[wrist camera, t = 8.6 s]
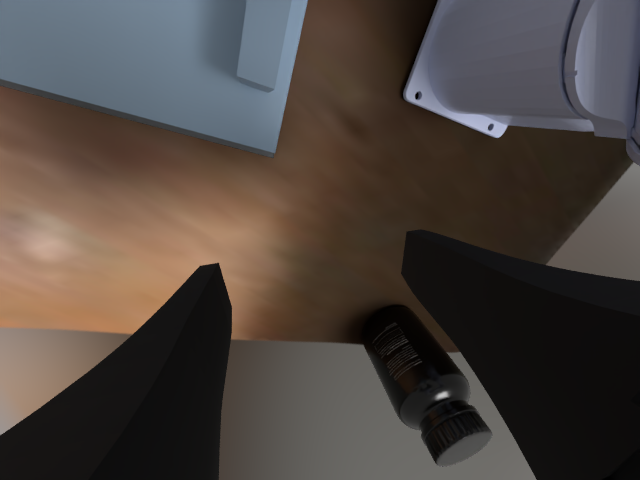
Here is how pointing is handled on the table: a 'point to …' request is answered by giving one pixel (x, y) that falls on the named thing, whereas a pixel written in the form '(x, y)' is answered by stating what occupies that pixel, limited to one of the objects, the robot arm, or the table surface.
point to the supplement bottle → (424, 385)
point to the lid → (161, 59)
